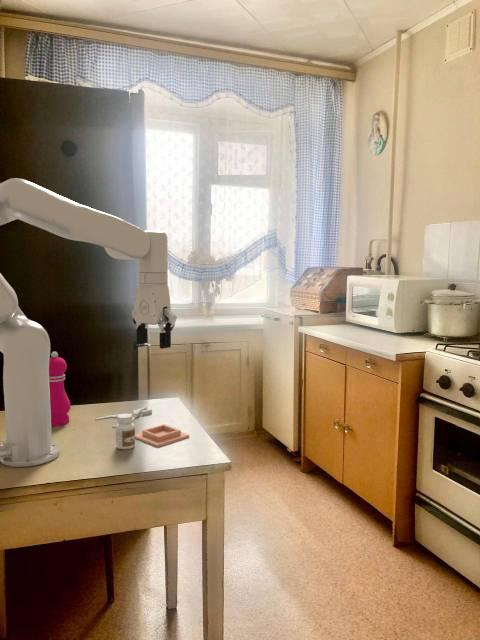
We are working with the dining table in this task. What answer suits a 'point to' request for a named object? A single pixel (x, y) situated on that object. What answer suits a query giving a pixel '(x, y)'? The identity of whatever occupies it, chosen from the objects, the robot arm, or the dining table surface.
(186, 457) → the dining table surface
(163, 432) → the rest
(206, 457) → the dining table surface
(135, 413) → the pliers
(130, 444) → the pill bottle
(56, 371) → the pepper mill
